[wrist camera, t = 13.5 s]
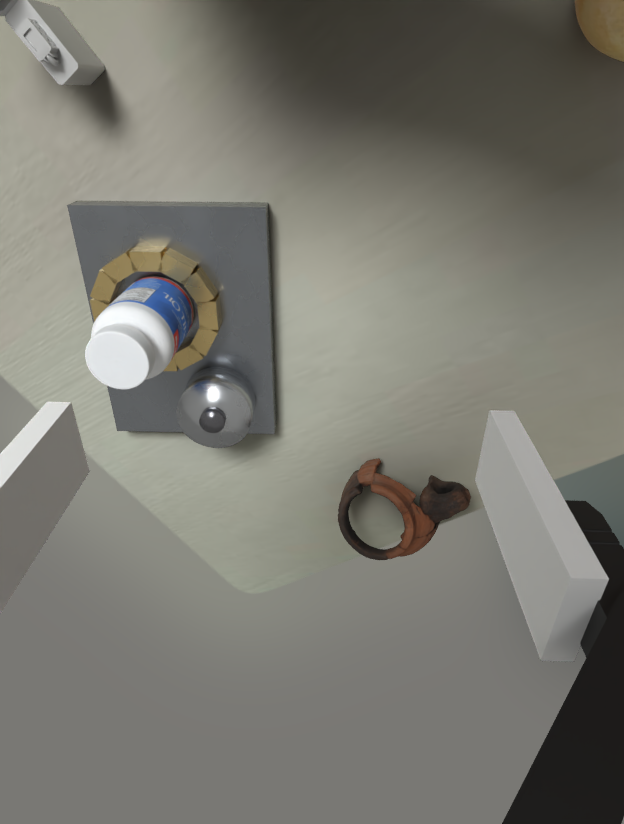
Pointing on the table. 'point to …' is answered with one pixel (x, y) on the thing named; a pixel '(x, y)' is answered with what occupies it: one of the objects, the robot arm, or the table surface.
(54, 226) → the table surface
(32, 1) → the lighter
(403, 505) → the pottery mug
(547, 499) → the robot arm
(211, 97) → the table surface
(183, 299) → the pill bottle
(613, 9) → the onion
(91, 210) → the carrier plate
